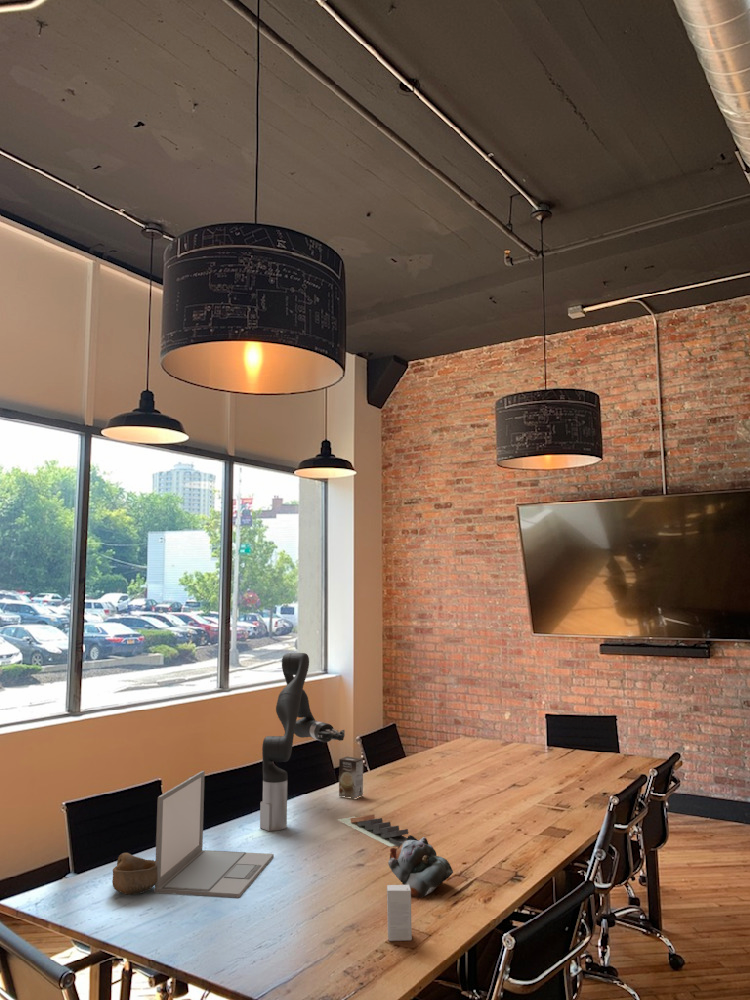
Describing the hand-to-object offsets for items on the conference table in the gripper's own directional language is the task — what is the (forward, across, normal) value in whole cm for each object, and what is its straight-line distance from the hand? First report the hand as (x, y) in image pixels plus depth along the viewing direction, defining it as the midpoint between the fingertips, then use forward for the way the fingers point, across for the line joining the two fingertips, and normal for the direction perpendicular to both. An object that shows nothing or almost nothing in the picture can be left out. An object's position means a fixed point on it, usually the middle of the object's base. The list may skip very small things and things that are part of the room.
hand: (341, 737), depth 302 cm
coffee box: (-23, +18, +30) cm, 42 cm away
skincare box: (+103, -40, +30) cm, 114 cm away
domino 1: (+11, 0, +29) cm, 31 cm away
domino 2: (+16, 0, +29) cm, 33 cm away
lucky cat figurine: (+79, -17, +30) cm, 86 cm away
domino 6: (+39, 0, +29) cm, 48 cm away
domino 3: (+22, 0, +29) cm, 36 cm away
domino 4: (+28, 0, +29) cm, 40 cm away
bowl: (+34, -90, +30) cm, 101 cm away
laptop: (+35, -64, +31) cm, 79 cm away
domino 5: (+34, 0, +29) cm, 44 cm away
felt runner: (+24, 0, +30) cm, 38 cm away
